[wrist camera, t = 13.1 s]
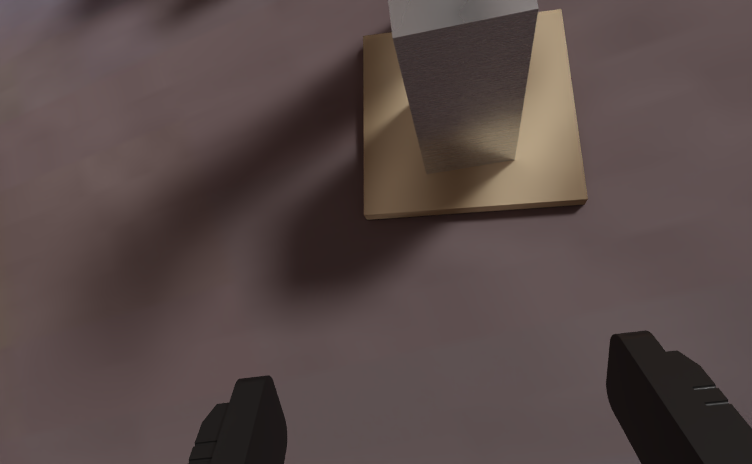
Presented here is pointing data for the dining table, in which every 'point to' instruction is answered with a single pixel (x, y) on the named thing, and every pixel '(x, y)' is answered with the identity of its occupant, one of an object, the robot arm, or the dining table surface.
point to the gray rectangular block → (464, 76)
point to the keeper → (480, 183)
